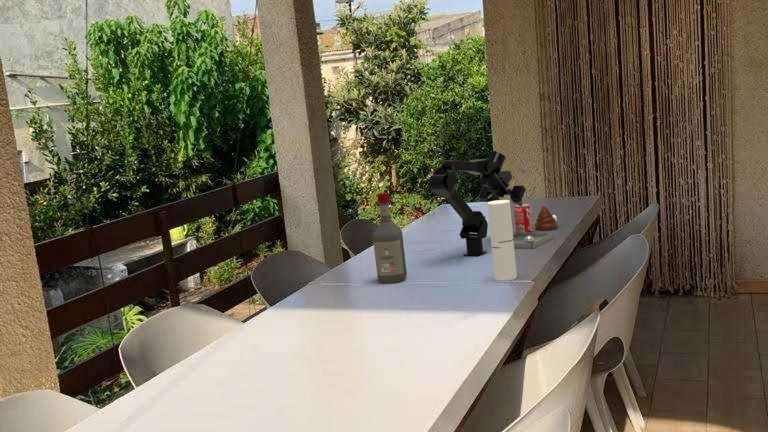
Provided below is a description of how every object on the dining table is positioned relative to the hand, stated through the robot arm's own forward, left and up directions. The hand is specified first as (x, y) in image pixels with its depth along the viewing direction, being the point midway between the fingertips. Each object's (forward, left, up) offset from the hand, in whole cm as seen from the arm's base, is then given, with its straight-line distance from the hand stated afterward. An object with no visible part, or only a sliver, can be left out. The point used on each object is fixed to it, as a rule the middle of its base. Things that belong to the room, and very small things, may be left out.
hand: (511, 205), depth 333 cm
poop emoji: (+19, -4, -14) cm, 24 cm away
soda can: (+8, -1, -14) cm, 16 cm away
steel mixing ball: (-12, -13, -13) cm, 22 cm away
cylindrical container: (-56, -26, -13) cm, 63 cm away
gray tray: (-7, -8, -13) cm, 17 cm away
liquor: (-66, +12, -14) cm, 68 cm away
